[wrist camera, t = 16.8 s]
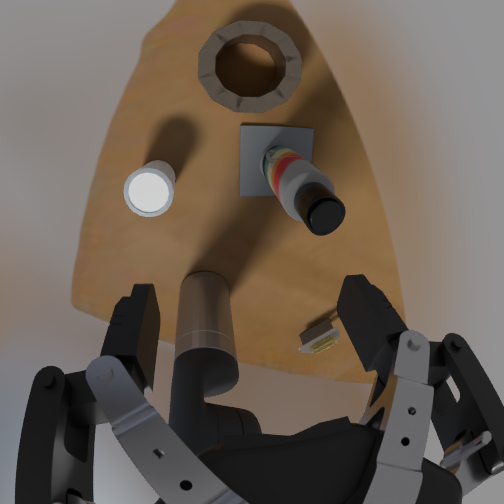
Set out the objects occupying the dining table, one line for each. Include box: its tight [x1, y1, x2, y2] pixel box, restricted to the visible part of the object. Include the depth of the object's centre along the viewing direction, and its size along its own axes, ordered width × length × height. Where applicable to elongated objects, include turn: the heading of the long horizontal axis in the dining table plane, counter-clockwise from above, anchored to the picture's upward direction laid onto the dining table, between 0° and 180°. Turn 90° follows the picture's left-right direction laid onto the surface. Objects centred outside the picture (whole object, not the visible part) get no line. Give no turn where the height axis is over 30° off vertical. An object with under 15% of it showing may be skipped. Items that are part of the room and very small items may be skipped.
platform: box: [299, 318, 340, 355], centre depth 59 cm, size 12×18×7 cm, turn 125°
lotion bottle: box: [260, 145, 345, 236], centre depth 31 cm, size 6×6×20 cm
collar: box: [198, 20, 302, 113], centre depth 30 cm, size 12×12×6 cm
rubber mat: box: [239, 125, 314, 197], centre depth 40 cm, size 11×11×1 cm
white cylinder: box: [124, 160, 176, 217], centre depth 36 cm, size 7×7×7 cm
